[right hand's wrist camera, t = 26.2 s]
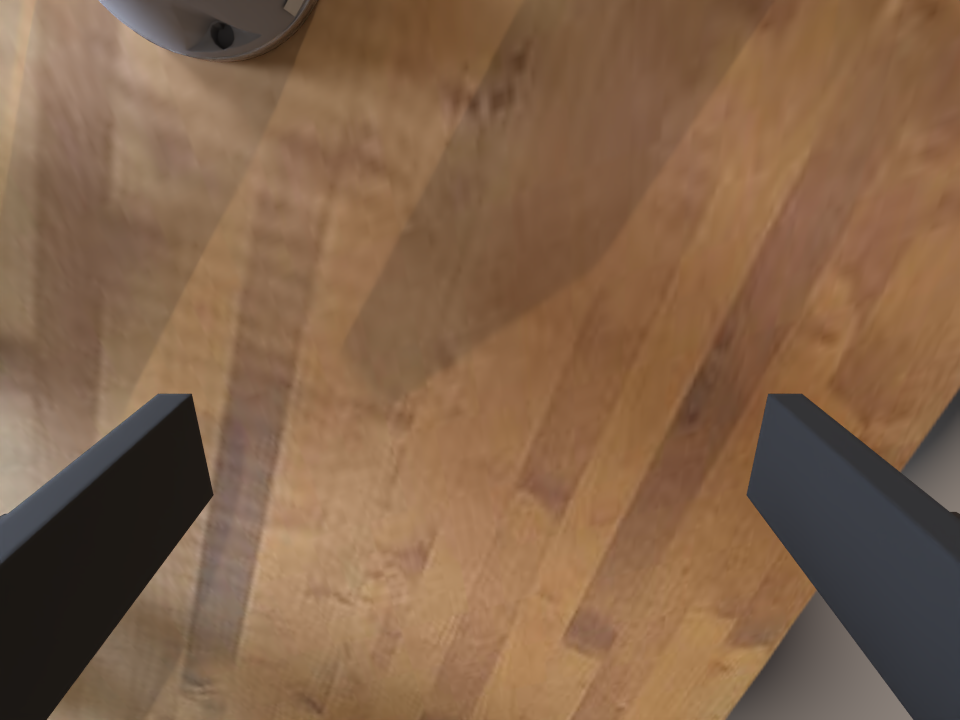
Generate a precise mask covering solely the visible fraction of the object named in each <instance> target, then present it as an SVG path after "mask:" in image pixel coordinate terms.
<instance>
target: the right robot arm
mask: <svg viewBox="0 0 960 720" xmlns="http://www.w3.org/2000/svg"><path fill="white" fill-rule="evenodd" d="M99 1H100V2H101V3H102V4H103V5H104V6H105V7H106V8H107V9H108V10H109V11H110V12H111V13H112V14H113V15H114V16H115V17H117V18H118V19H119V20H120V21H121V22H123V23H124V24H125V25H127V26H128V27H129V28H131V29H132V30H133V31H135V32H136V33H138V34H139V35H141V36H142V37H144V38H145V39H147V40H149V41H150V42H152V43H154V44H156V45H158V46H160V47H162V48H165V49H167V50H170V51H172V52H175V53H179V54H182V55H185V56H189V57H193V58H196V59H201V60H206V61H215V62H234V61H241V60H247V59H250V58H254V57H257V56H260V55H262V54H265V53H267V52H269V51H271V50H273V49H274V48H276V47H278V46H279V45H281V44H282V43H284V42H285V41H286V40H287V39H289V38H290V37H291V36H292V35H293V34H294V33H295V32H296V31H297V30H298V29H299V28H300V27H301V26H302V24H303V23H304V22H305V21H306V19H307V18H308V16H309V15H310V14H311V12H312V10H313V8H314V7H315V5H316V3H317V1H318V0H99ZM212 496H213V491H212V486H211V481H210V477H209V472H208V467H207V463H206V458H205V453H204V449H203V444H202V439H201V435H200V430H199V425H198V421H197V416H196V411H195V407H194V402H193V397H192V394H157V395H156V396H155V397H154V398H152V399H151V400H150V401H149V402H147V403H146V404H145V405H144V406H142V407H141V408H140V409H139V410H137V411H136V412H135V413H134V414H132V415H131V416H130V417H129V418H127V419H126V420H125V421H124V422H122V423H121V424H120V425H119V426H117V427H116V428H115V429H114V430H112V431H111V432H110V433H109V434H107V435H106V436H105V437H103V438H102V439H101V440H100V441H98V442H97V443H96V444H95V445H93V446H92V447H91V448H90V449H88V450H87V451H86V452H85V453H83V454H82V455H81V456H80V457H78V458H77V459H76V460H75V461H73V462H72V463H71V464H70V465H68V466H67V467H66V468H65V469H63V470H62V471H61V472H60V473H58V474H57V475H56V476H55V477H53V478H52V479H51V480H50V481H48V482H47V483H46V484H45V485H43V486H42V487H41V488H40V489H38V490H37V491H36V492H35V493H33V494H32V495H31V496H30V497H28V498H27V499H26V500H25V501H23V502H22V503H21V504H20V505H18V506H17V507H16V508H15V509H13V510H12V511H11V512H10V513H8V514H4V515H2V516H0V720H47V718H48V717H49V716H50V714H51V713H52V712H53V710H54V709H55V708H56V706H57V705H58V704H59V702H60V701H61V700H62V698H63V697H64V696H65V694H66V693H67V691H68V690H69V689H70V687H71V686H72V685H73V683H74V682H75V681H76V679H77V678H78V677H79V675H80V674H81V673H82V671H83V670H84V669H85V667H86V666H87V665H88V663H89V662H90V661H91V659H92V658H93V657H94V655H95V654H96V652H97V651H98V650H99V648H100V647H101V646H102V644H103V643H104V642H105V640H106V639H107V638H108V636H109V635H110V634H111V632H112V631H113V630H114V628H115V627H116V626H117V624H118V623H119V622H120V620H121V619H122V618H123V616H124V615H125V613H126V612H127V611H128V609H129V608H130V607H131V605H132V604H133V603H134V601H135V600H136V599H137V597H138V596H139V595H140V593H141V592H142V591H143V589H144V588H145V587H146V585H147V584H148V583H149V581H150V580H151V579H152V577H153V576H154V574H155V573H156V572H157V570H158V569H159V568H160V566H161V565H162V564H163V562H164V561H165V560H166V558H167V557H168V556H169V554H170V553H171V552H172V550H173V549H174V548H175V546H176V545H177V544H178V542H179V541H180V540H181V538H182V537H183V535H184V534H185V533H186V531H187V530H188V529H189V527H190V526H191V525H192V523H193V522H194V521H195V519H196V518H197V517H198V515H199V514H200V513H201V511H202V510H203V509H204V507H205V506H206V505H207V503H208V502H209V501H210V499H211V498H212ZM747 496H748V498H749V499H750V501H751V502H752V503H753V505H754V506H755V507H756V509H757V510H758V511H759V513H760V514H761V515H762V517H763V518H764V519H765V521H766V522H767V523H768V525H769V526H770V527H771V529H772V530H773V531H774V533H775V534H776V535H777V537H778V538H779V540H780V541H781V542H782V544H783V545H784V546H785V548H786V549H787V550H788V552H789V553H790V554H791V556H792V557H793V558H794V560H795V561H796V562H797V564H798V565H799V566H800V568H801V569H802V570H803V572H804V573H805V574H806V576H807V577H808V579H809V580H810V581H811V583H812V584H813V585H814V587H815V588H816V589H817V591H818V592H819V593H820V595H821V596H822V597H823V599H824V600H825V601H826V603H827V604H828V605H829V607H830V608H831V609H832V611H833V612H834V613H835V615H836V616H837V618H838V619H839V620H840V622H841V623H842V624H843V626H844V627H845V628H846V630H847V631H848V632H849V634H850V635H851V636H852V638H853V639H854V640H855V642H856V643H857V644H858V646H859V647H860V648H861V650H862V651H863V652H864V654H865V655H866V657H867V658H868V659H869V660H870V662H871V663H872V665H873V666H874V667H875V669H876V670H877V671H878V673H879V674H880V675H881V677H882V678H883V679H884V681H885V682H886V683H887V685H888V686H889V687H890V689H891V690H892V691H893V693H894V694H895V696H896V697H897V698H898V700H899V701H900V702H901V704H902V705H903V706H904V708H905V709H906V710H907V712H908V713H909V714H910V716H911V717H912V718H913V720H960V514H959V513H957V512H949V511H948V510H947V509H945V508H944V507H943V506H942V505H940V504H939V503H938V502H937V501H935V500H934V499H933V498H932V497H930V496H929V495H928V494H927V493H925V492H924V491H923V490H922V489H920V488H919V487H918V486H917V485H915V484H914V483H913V482H912V481H910V480H909V479H908V478H907V477H905V476H904V475H903V474H902V473H900V472H899V471H898V470H897V469H895V468H894V467H893V466H892V465H890V464H889V463H888V462H887V461H885V460H884V459H883V458H882V457H880V456H879V455H878V454H877V453H875V452H874V451H873V450H872V449H870V448H869V447H868V446H867V445H865V444H864V443H863V442H862V441H860V440H859V439H858V438H856V437H855V436H854V435H853V434H851V433H850V432H849V431H848V430H846V429H845V428H844V427H843V426H841V425H840V424H839V423H838V422H836V421H835V420H834V419H833V418H831V417H830V416H829V415H828V414H826V413H825V412H824V411H823V410H821V409H820V408H819V407H818V406H816V405H815V404H814V403H813V402H811V401H810V400H809V399H808V398H806V397H805V396H804V395H803V394H768V397H767V402H766V407H765V411H764V416H763V421H762V425H761V430H760V435H759V439H758V444H757V449H756V453H755V458H754V463H753V467H752V472H751V477H750V481H749V486H748V491H747Z"/></svg>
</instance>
